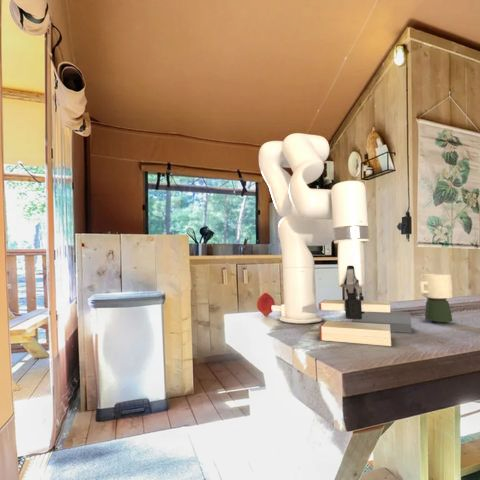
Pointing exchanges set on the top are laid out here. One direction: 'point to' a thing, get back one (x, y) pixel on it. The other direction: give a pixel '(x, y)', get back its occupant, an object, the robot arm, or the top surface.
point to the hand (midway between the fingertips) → (355, 315)
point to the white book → (365, 305)
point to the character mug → (437, 296)
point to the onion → (265, 303)
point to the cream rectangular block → (355, 332)
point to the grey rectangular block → (388, 320)
